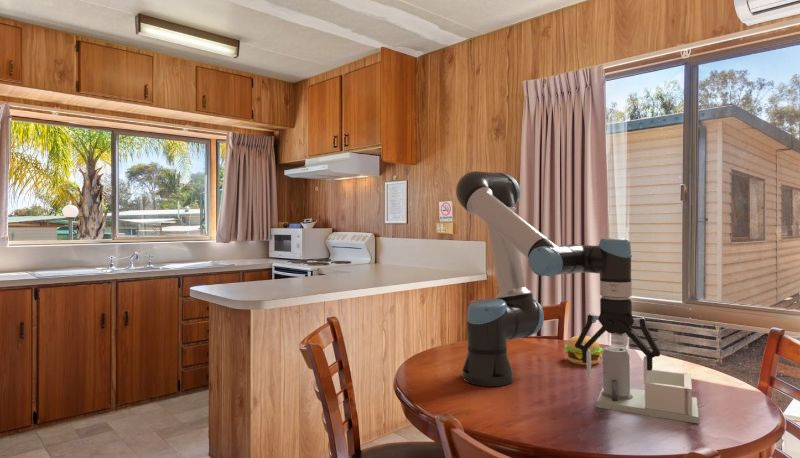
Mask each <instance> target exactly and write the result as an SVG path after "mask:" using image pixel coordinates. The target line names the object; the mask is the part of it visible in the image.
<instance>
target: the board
mask: <svg viewBox="0 0 800 458" xmlns="http://www.w3.org/2000/svg"><path fill="white" fill-rule="evenodd" d="M595 402H596V403H595V407H596V408H599V409H606V410H613V411H618V412H625V413H630V414H637V415H643V416H650V417H655V418H663V419H668V420H674V421H680V422H686V423H692V424H698V425H699V423H700V422H699V421H700V420H699V409H698V398H697V397H695V396H694V397H693V396H692V415H688V414H682V413H675V412H669V411H662V410H656V409H649V408H645V389H637V388H630V394H629V395H628V396H627V397H624V398H618V401H612V397H611V396H608V395H607V394H606V393H605V392H604V391H603V387H602V388H601V391H600V392H599V395H598V397H597V399H596V401H595Z"/></svg>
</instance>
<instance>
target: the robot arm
mask: <svg viewBox="0 0 800 458" xmlns="http://www.w3.org/2000/svg"><path fill="white" fill-rule="evenodd" d="M455 195H456V198H457V201H458V203H459V204H460V206H461V207H462V208H463V209H464V210H465V211H467V212H468V213H469V214H471V215H475V216H478V217H479V218H480V219H481V220H482V221H484V222H485V223H486V226H487V231H488V232H487V233H488V236H489V241H490V248H491V253H492V258H493V264H494V265H493V266H494V271H495V276H496V281H497V287H498V293H497V294H496V296H495V297H494V298H483V299H478V300H475V301H472V302H471V303H470V304H468V306H467V314H466V325H467V329H466V333H467V335H466V336H467V353H466V357H465V360H464V364H463V367H462V371H461V376H462V377H463V379H465V380H466V381H468V382H470V383H473V384H472V385H474V384H476V385H475V386H479V385H481V387H502V386H506V385H510V384H511V383H513V382H514V371H513V367H512V365H511V362H510V360H509V359H510V358H509V355H508V349H507V348H508V347H507V346H508V344H507V343H508V341H511V340H516V339H523V338H528V337H530V336H533V335H535V334H537V333H538V332H539V331H540V330H541V329H542V327H543V324H544V321H545V320H544V319H545V315H544V314H545V313H544V309H543V306H542V305H541V303H539V301H538V300H536V299H534V297H533V292H532V291H531V290H529V289H528V288H527V286H526V281H525V280H526V279H525V274H524V270H523V264H522V261H521V260H522V258H521V254H522V255H523V256H525V257H526V258H527V259H528V261H527V262H528V266H529V268H530V270H531V272H533V273H534V274H535V275H537V276H543V277H553V276H559V275H566V274H567V275H568V274H577V273H589V274H590V273H591V274H599V295H600V296H601V297H600V299H599V304H600V305H599V307H600V308H599V311H600V313H599V315H597V314H593V312H592V313H589V314H588V315H587V319H586V324H585V325H584V327H583V329H582V331H581V333H580V334H579V335H580V336H579V338H578V340H577V342H576V344H575V347H576V348H579V349H581V350H582V361H583V363H587V365H586V377H591V375H592V365H591V350H588V348H589V347H590V346H591V345H592V344H593V343H594V342H595V341H598V339H599V338H600V337H601V336H602V335H603V334H604V333H605V332H607V333H609V334H618V335H624V334H626V335H627V336H628V338H630V339H631V340H632V341H633V342H634V344H635V345H636V346H637V347H638V348H639V349H640V350H641V352H642V353H643V385H645V382H648V370H649V371H651V370H652V369H653V358H656V357H660V355H661V350H660V349H659V347H658V345H657V343H656V340H655V339H654V337H653V335H652V333H651V332H650V330H649V327H648V326H647V322H646V320H647V319H646V317H644V316H642V317H639V318H636V317H635V318H634V316H633V314H632V313H633V311H632V310H633V309H632V308H633V307H632V304H633V302H632V299H631V297H632V295H633V294H632V292H633V291H632V290H633V289H632V288H633V287H632V257H633V255H632V249H631V247H632V246H631V241H630V240H629V239H628V238H625V237H624V238H622V237H620V238H618V237H615V238H612V237H610V238H609V237H608V238H600V240H599V243H598V245H597V244H596V245H587V244H586V245H585V244H564V245H557V244H555V243H554V242H552V241H551V240H550V239H549V238H547V237H546V236H545V235H544V234H542V233H541V232H540V231H539V230H537V229H536V228H535V227H533V225H531V224H530V223H528V222H527V221H526V220H525V219H524V218H522V217H521V216H519V214H517V213H516V211H517V206H516V205H517V204H518V202H519V201H520V200H519V199H520V197H521V189H520V186H519V183H518V182H517V180H516V179H515V177H513V176H511V175H510V174H506V173H503V172H489V171H476V170H475V171H469V172H467V173H465V174H464V175H462V176H461V178H459V179H458V182H457V185H456V187H455ZM597 321H598V322H599V324H601V327H600V328H599V329H598V330H597V331H596V333H594V334H593V335H592V336H591V337H592V338H591V339H590V340H589V341H588V342H587V343H586V344H585V345H584V344H582V342H583V340H584V338H585V337H586V336H588V333H589V331H590V329H591V327H592V326H593V324H595V323H596V322H597ZM634 324H636V326H637V327H639V328H640V330H641V332H642V334H643V337H644V338H645V339H646V341H647V343H648V346H650V348H649V347H648V346H647V345H646V344H645V343H644V341H642V340H641V338H640V337H639V336H638V335H637V334H636V332H635V331H634V330H633V328H632V327H631V326H633V325H634ZM462 377H461V378H462ZM463 379H462V380H463ZM466 381H465V382H466ZM468 382H467V383H468ZM470 383H469V384H470Z"/></svg>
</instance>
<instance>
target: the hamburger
mask: <svg viewBox="0 0 800 458" xmlns="http://www.w3.org/2000/svg"><path fill="white" fill-rule="evenodd" d="M579 336H580V334H579V335H575V336H572V337H571V338H569V340H568V341H567V344H565V345H564V349H565V353H566V355H567V359H568V361H569V362H570V363H573V364H576V365H581V366H587V363H583V361H582V350H581V349H579V348H576V347H575V344H576V342H577V340H578V338H579ZM592 337H593V336H589V335H586V337H585V338H584V340H583V342H582V344H584V345H585V344H586V343H587V342H588V341H589V340H590V339H591V338H592ZM588 350H591V366H594V365H596V364H598V363H600V358H603V353H602V351H603V348H602V346H601V347H600V344H599V341H598V340H596V341H595V342H594V343H593V344H592V345H591V346H590V347H589V348H588Z"/></svg>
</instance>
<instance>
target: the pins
mask: <svg viewBox="0 0 800 458" xmlns="http://www.w3.org/2000/svg"><path fill="white" fill-rule="evenodd" d="M612 401H618V381H617V380H612Z"/></svg>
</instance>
